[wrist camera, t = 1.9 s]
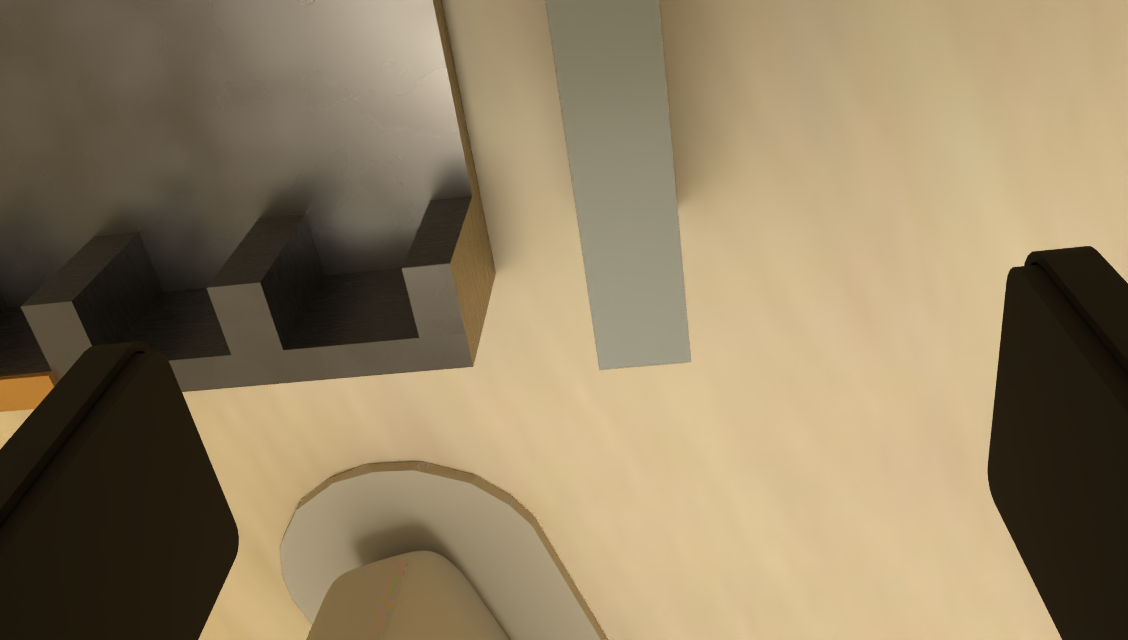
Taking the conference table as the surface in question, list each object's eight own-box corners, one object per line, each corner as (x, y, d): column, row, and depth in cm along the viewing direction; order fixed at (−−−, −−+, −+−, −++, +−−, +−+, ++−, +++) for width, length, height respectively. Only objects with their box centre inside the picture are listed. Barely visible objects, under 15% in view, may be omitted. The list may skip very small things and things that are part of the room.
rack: (388, -266, 22) (328, -264, 18) (495, 273, 29) (472, 371, 25) (-239, -161, 24) (-435, -136, 20) (4, 321, 31) (-100, 420, 27)
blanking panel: (636, -229, 22) (640, -210, 16) (675, 207, 28) (691, 362, 21) (550, -216, 23) (517, -190, 16) (605, 214, 28) (599, 369, 21)
